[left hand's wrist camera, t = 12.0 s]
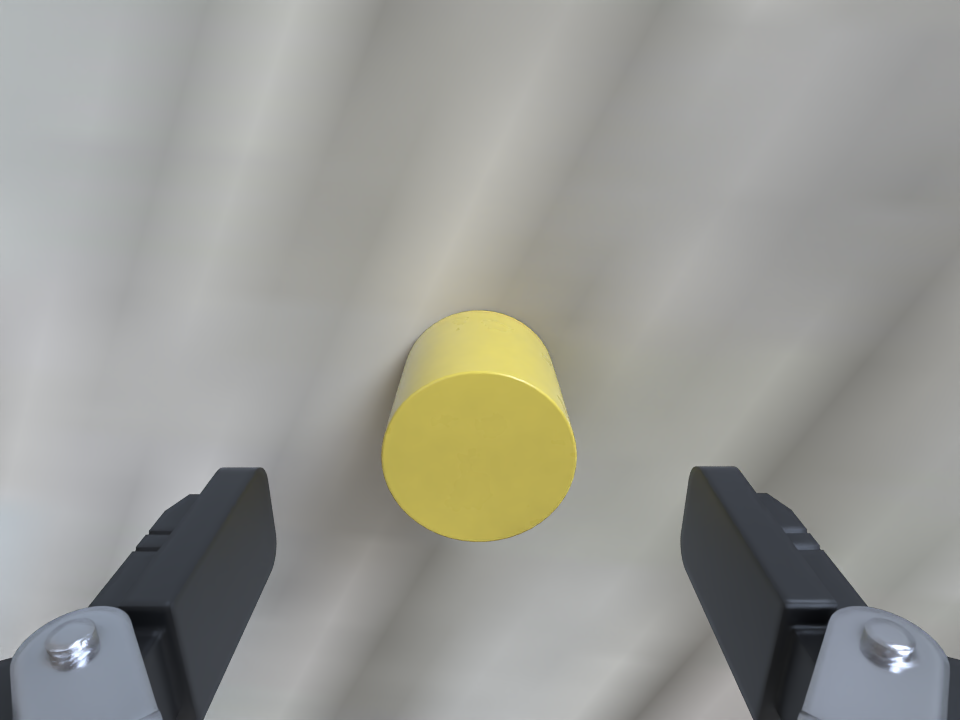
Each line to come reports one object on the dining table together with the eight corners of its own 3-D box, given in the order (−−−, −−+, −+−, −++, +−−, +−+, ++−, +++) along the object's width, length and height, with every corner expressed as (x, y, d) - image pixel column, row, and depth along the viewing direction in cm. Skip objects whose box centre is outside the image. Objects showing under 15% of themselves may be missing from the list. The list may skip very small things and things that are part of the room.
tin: (402, 444, 19) (380, 538, 15) (404, 305, 17) (380, 366, 13) (546, 451, 19) (565, 547, 15) (561, 314, 17) (588, 377, 13)
